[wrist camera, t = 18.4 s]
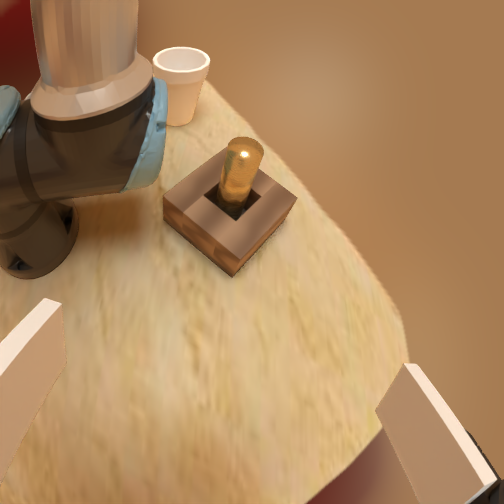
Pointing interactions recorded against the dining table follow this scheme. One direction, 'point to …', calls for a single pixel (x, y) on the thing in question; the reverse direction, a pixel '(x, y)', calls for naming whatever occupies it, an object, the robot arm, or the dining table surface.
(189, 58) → the foam cup
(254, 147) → the brass peg
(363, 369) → the dining table surface
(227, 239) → the walnut socket block
